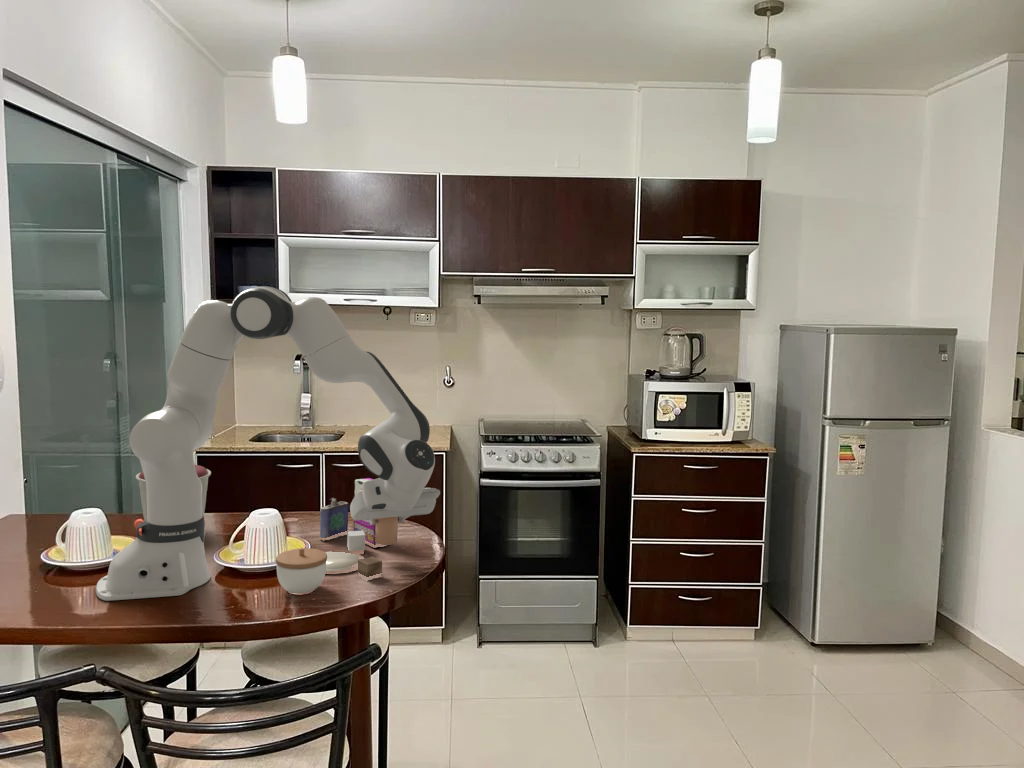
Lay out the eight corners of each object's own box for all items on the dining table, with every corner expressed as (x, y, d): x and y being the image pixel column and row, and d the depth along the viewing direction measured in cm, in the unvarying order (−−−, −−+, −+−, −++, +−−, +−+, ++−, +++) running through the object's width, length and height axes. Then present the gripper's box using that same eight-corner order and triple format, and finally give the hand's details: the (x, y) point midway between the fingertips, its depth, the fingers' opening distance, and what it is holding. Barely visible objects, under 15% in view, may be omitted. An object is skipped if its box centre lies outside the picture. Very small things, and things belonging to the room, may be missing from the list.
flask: (324, 542, 192) (324, 502, 191) (316, 540, 193) (317, 500, 192) (350, 534, 199) (350, 496, 198) (342, 532, 201) (343, 494, 200)
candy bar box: (391, 546, 191) (392, 484, 189) (374, 549, 187) (375, 487, 186) (368, 535, 199) (369, 476, 197) (352, 538, 195) (353, 479, 194)
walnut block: (367, 581, 165) (367, 564, 165) (357, 576, 168) (357, 560, 168) (381, 577, 168) (382, 561, 168) (372, 572, 171) (372, 556, 171)
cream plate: (313, 578, 166) (313, 573, 166) (300, 559, 178) (300, 554, 178) (372, 569, 173) (372, 565, 173) (356, 552, 185) (356, 547, 185)
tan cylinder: (378, 545, 174) (380, 506, 174) (372, 539, 179) (373, 501, 178) (400, 543, 177) (401, 505, 176) (393, 537, 182) (394, 499, 181)
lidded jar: (274, 601, 152) (274, 558, 151) (276, 582, 163) (277, 542, 162) (327, 598, 155) (327, 555, 154) (326, 579, 165) (326, 539, 165)
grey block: (348, 555, 182) (349, 536, 182) (347, 550, 186) (347, 531, 186) (364, 554, 184) (365, 535, 183) (362, 549, 187) (363, 530, 187)
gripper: (439, 477, 175) (422, 506, 185) (356, 482, 166) (343, 513, 175) (445, 499, 172) (428, 528, 181) (361, 506, 162) (347, 536, 172)
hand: (386, 521), depth 178 cm, fingers closed on tan cylinder, 5 cm apart
